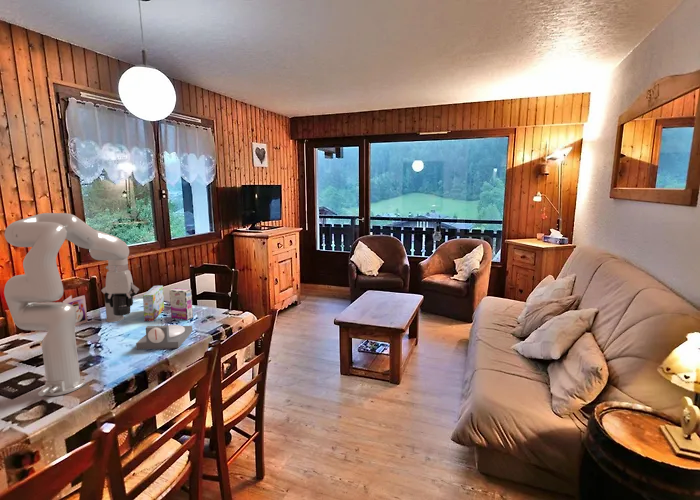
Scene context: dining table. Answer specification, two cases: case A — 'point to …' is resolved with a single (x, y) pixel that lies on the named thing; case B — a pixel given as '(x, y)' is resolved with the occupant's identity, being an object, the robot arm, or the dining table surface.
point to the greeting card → (78, 308)
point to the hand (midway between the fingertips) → (121, 305)
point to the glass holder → (111, 312)
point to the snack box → (153, 303)
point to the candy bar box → (181, 304)
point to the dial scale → (164, 337)
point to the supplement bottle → (120, 304)
